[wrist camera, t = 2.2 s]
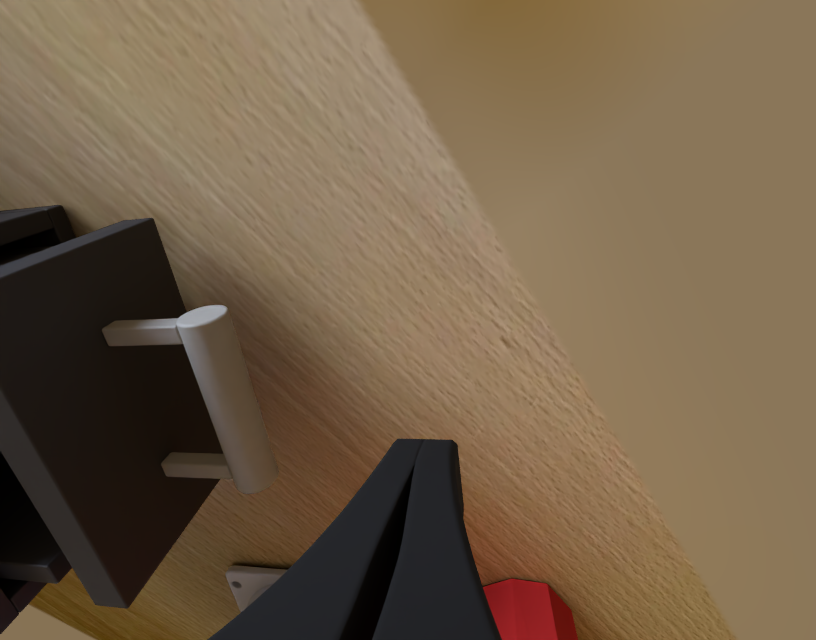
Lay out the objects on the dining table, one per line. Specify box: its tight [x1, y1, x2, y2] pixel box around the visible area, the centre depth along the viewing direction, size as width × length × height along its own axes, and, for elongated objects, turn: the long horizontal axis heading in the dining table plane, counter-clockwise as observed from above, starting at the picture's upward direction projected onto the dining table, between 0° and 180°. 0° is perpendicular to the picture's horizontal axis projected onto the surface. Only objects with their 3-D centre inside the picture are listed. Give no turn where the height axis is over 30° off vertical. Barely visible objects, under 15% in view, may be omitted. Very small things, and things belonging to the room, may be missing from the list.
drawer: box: [0, 218, 279, 608], centre depth 16 cm, size 14×10×7 cm
